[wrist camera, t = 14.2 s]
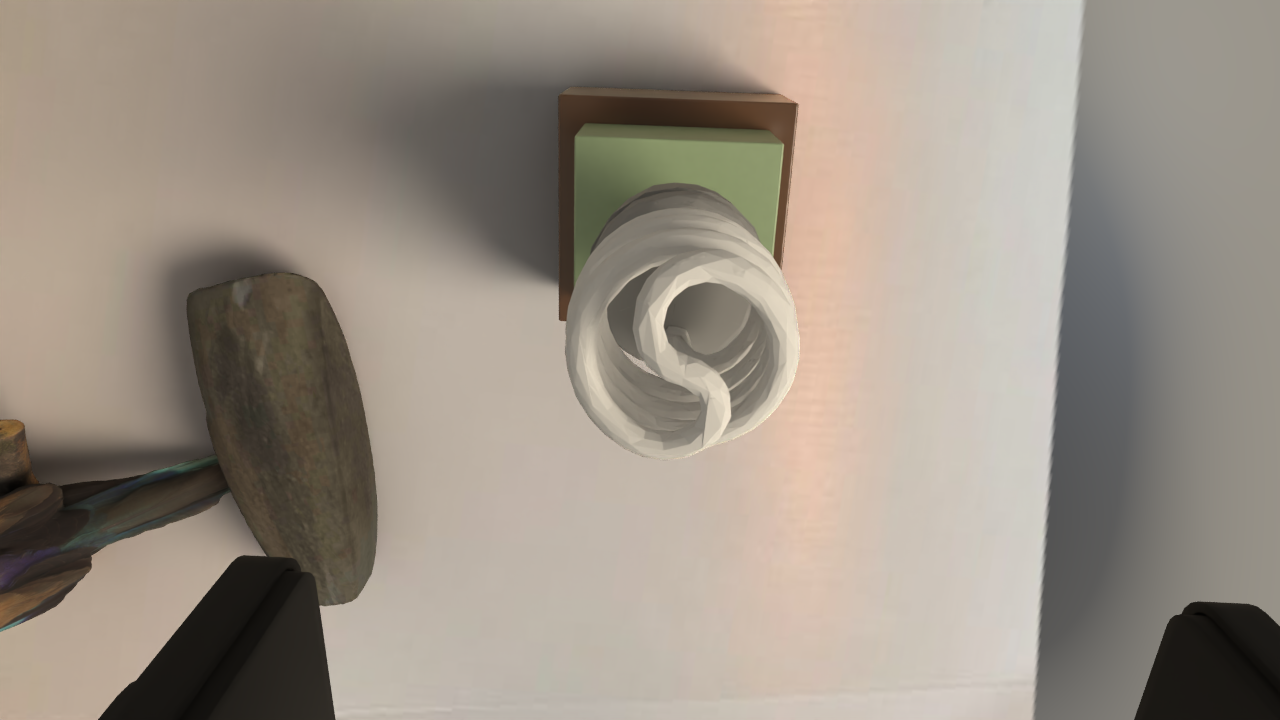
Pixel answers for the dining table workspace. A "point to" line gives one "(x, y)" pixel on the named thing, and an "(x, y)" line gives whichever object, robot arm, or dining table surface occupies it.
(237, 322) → the decorative stone
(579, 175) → the top block
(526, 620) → the dining table surface
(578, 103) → the base block
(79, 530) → the bird figurine
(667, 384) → the light bulb
